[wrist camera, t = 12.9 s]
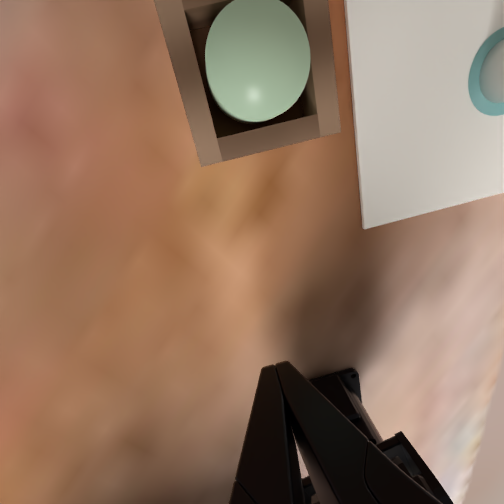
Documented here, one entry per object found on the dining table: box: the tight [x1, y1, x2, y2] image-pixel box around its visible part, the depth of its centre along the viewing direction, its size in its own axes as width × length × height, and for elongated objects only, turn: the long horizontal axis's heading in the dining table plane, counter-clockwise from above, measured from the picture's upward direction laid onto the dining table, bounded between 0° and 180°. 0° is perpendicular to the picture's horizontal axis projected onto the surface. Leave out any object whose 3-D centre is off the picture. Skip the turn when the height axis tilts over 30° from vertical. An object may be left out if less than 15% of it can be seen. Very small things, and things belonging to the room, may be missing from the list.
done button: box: [205, 0, 311, 124], centre depth 15 cm, size 5×5×3 cm
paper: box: [344, 0, 504, 229], centre depth 18 cm, size 14×16×1 cm
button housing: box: [154, 0, 341, 167], centre depth 15 cm, size 8×8×2 cm
